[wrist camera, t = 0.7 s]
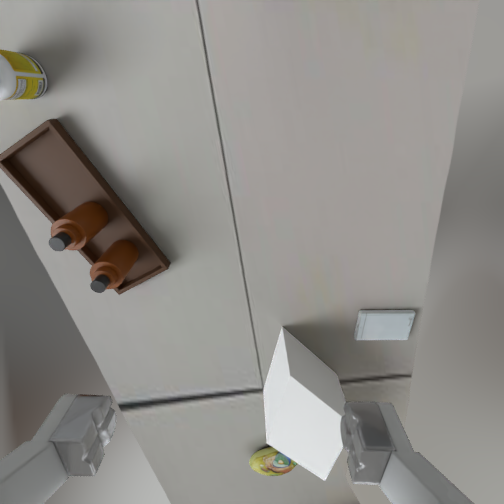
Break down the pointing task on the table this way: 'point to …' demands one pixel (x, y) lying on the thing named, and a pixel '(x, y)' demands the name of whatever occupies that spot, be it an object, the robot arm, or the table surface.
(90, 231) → the amber bottle middle
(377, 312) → the hard drive
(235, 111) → the table surface
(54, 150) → the tray
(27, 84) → the pill bottle
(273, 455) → the cell model
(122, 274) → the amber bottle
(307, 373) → the box
